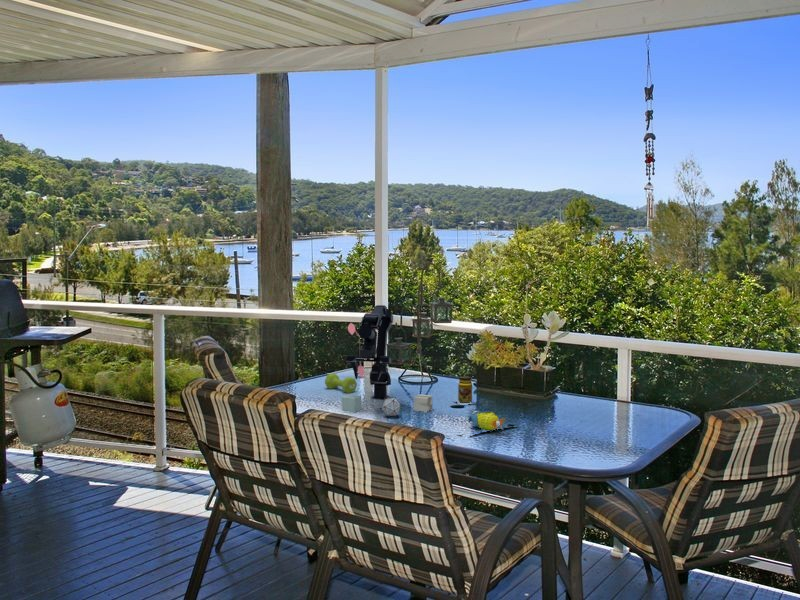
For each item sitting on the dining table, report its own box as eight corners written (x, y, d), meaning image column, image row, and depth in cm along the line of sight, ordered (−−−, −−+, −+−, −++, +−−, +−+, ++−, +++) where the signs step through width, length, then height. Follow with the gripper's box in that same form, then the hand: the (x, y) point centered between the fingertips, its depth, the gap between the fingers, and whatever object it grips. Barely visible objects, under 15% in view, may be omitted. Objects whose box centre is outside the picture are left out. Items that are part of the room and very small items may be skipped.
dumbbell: (358, 392, 356) (358, 377, 355) (345, 394, 350) (345, 379, 350) (336, 386, 368) (336, 372, 367) (323, 389, 362) (323, 374, 361)
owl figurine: (471, 418, 275) (445, 411, 287) (471, 442, 276) (445, 433, 288) (526, 408, 291) (500, 401, 303) (526, 430, 292) (500, 422, 304)
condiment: (461, 406, 329) (461, 379, 328) (452, 401, 337) (453, 375, 335) (476, 404, 332) (476, 377, 330) (467, 400, 339) (467, 374, 338)
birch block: (419, 408, 325) (419, 394, 325) (432, 409, 323) (432, 395, 322) (413, 411, 320) (413, 397, 319) (426, 412, 317) (426, 398, 317)
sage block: (349, 407, 325) (349, 394, 324) (361, 409, 322) (361, 395, 321) (341, 410, 319) (341, 397, 319) (354, 412, 317) (354, 398, 316)
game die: (394, 426, 309) (399, 410, 302) (375, 418, 310) (380, 402, 304) (402, 411, 316) (407, 396, 309) (383, 403, 317) (388, 387, 310)
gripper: (343, 338, 314) (340, 376, 311) (387, 340, 311) (384, 378, 307) (350, 343, 325) (347, 379, 321) (392, 345, 321) (390, 381, 318)
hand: (366, 379), depth 316 cm, fingers open, 9 cm apart
